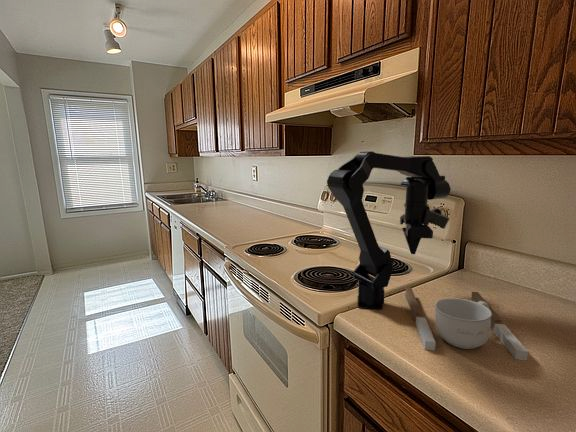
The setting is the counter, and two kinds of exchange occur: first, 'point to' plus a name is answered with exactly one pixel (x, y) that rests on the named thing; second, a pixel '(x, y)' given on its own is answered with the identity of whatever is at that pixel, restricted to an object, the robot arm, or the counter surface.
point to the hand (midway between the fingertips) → (412, 253)
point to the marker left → (425, 333)
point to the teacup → (463, 322)
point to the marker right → (510, 342)
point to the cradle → (474, 297)
